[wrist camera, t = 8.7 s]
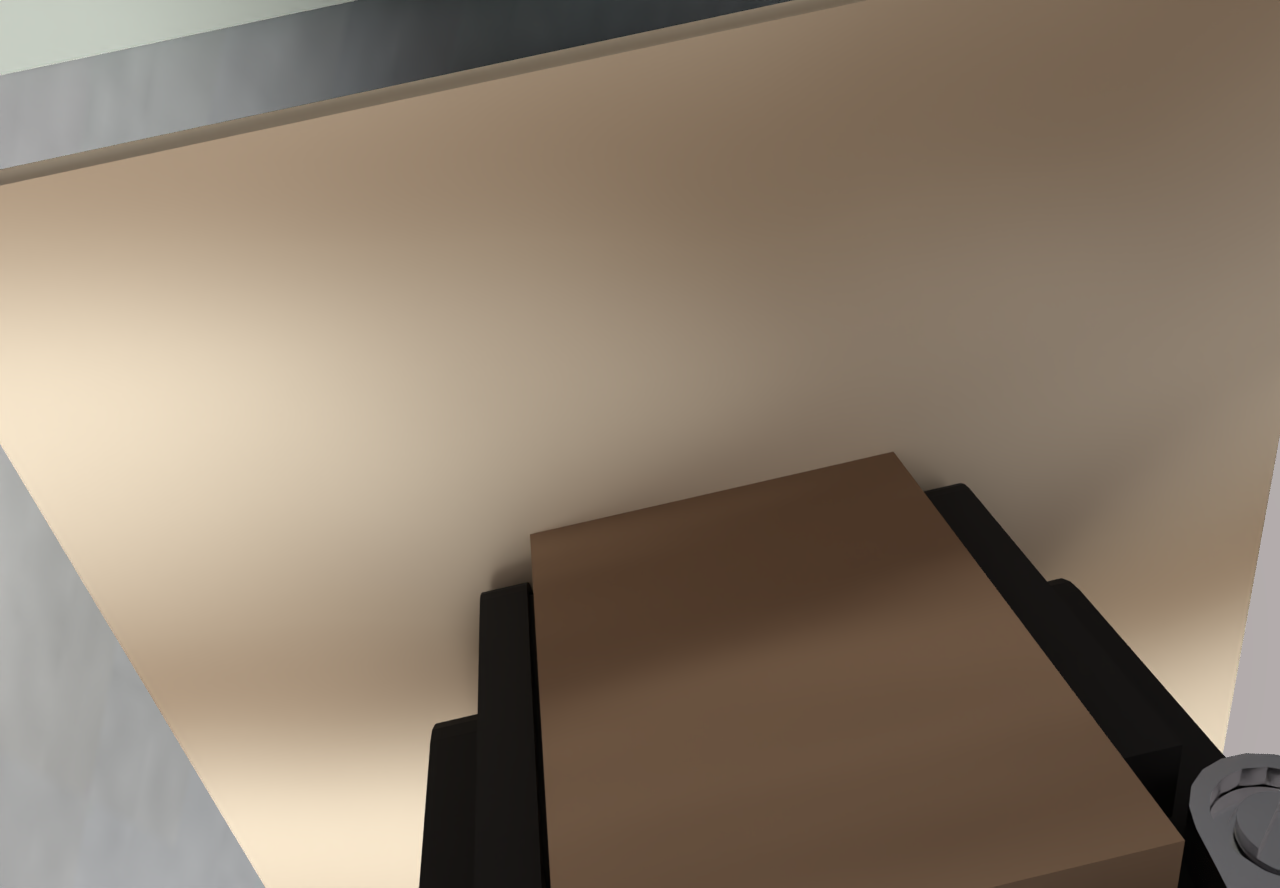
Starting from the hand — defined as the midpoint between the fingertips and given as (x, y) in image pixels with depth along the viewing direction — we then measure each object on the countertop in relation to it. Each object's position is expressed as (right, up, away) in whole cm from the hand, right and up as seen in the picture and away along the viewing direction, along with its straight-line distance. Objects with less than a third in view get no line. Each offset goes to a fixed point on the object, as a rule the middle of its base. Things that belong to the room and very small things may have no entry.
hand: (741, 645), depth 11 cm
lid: (0, +1, +1) cm, 1 cm away
